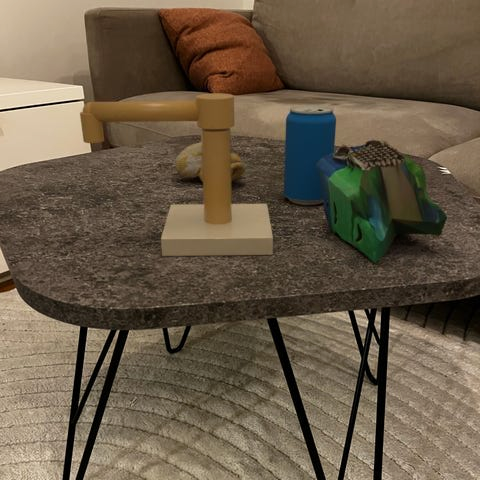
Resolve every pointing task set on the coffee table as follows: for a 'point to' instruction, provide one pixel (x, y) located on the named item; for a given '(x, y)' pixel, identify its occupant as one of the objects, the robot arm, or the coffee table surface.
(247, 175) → the coffee table surface
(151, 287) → the coffee table surface
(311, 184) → the beverage can
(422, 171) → the sculpture
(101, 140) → the spout
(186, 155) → the seashell
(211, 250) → the faucet base
